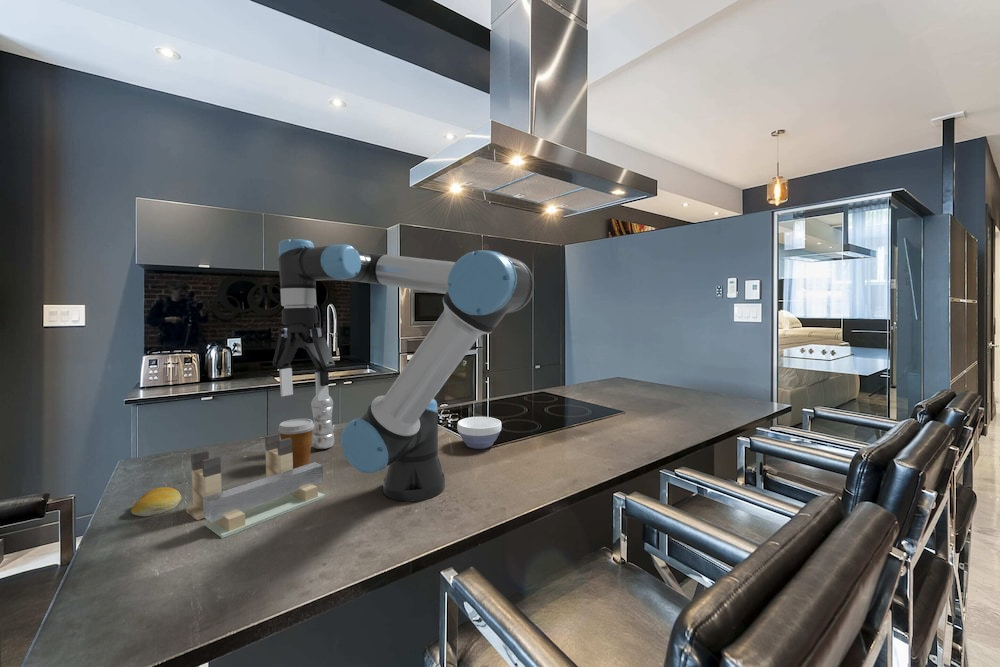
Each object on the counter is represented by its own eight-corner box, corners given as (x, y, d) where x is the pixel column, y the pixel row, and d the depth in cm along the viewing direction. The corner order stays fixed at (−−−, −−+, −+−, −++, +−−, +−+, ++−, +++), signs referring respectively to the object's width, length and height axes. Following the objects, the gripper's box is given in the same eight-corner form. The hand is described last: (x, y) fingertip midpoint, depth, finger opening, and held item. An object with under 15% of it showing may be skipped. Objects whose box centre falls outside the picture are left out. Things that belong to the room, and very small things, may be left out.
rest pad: (325, 497, 101) (324, 485, 101) (222, 538, 83) (221, 523, 83) (306, 488, 106) (306, 477, 105) (205, 526, 88) (204, 511, 87)
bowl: (476, 435, 150) (476, 414, 149) (510, 443, 141) (510, 420, 141) (448, 446, 138) (447, 423, 137) (483, 455, 129) (483, 431, 129)
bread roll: (125, 521, 90) (124, 502, 90) (144, 502, 98) (143, 486, 98) (172, 514, 93) (171, 496, 93) (186, 497, 101) (185, 480, 101)
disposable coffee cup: (301, 470, 117) (300, 428, 116) (271, 468, 119) (269, 426, 118) (322, 458, 126) (321, 419, 126) (294, 456, 128) (292, 417, 128)
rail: (323, 481, 103) (322, 465, 103) (210, 522, 83) (210, 502, 83) (315, 477, 105) (314, 462, 105) (203, 517, 85) (202, 497, 85)
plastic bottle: (339, 447, 137) (337, 385, 136) (320, 453, 131) (318, 389, 130) (326, 443, 141) (325, 383, 139) (307, 449, 135) (306, 387, 134)
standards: (299, 485, 107) (297, 437, 107) (198, 521, 90) (196, 463, 89) (284, 478, 112) (282, 432, 111) (185, 511, 94) (182, 456, 93)
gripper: (348, 305, 96) (352, 398, 97) (283, 308, 109) (287, 390, 110) (319, 305, 89) (324, 405, 90) (253, 309, 102) (258, 396, 103)
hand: (304, 397), depth 100 cm, fingers open, 13 cm apart
